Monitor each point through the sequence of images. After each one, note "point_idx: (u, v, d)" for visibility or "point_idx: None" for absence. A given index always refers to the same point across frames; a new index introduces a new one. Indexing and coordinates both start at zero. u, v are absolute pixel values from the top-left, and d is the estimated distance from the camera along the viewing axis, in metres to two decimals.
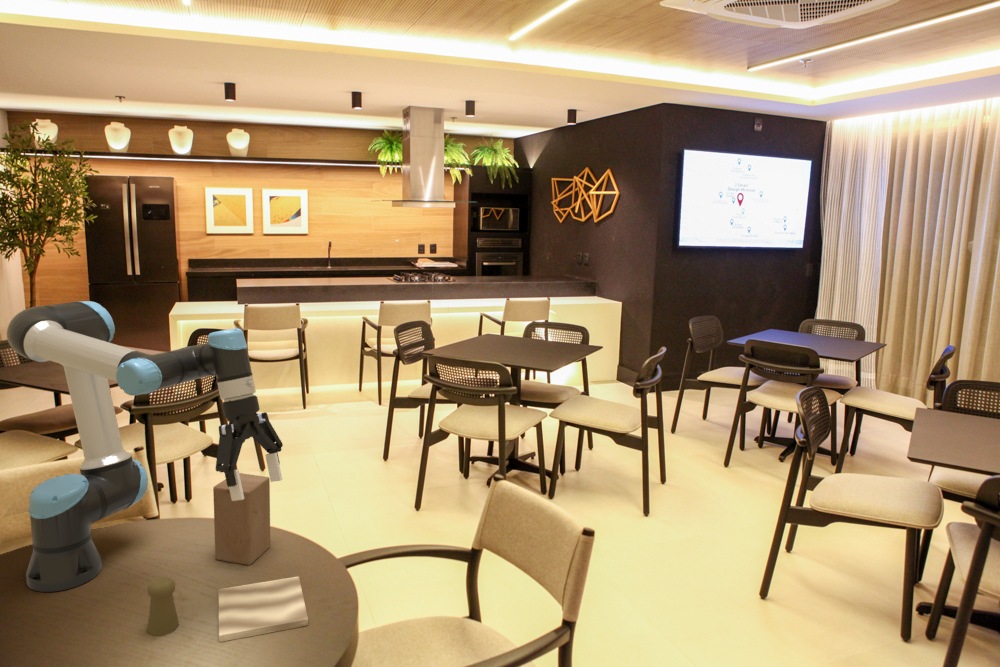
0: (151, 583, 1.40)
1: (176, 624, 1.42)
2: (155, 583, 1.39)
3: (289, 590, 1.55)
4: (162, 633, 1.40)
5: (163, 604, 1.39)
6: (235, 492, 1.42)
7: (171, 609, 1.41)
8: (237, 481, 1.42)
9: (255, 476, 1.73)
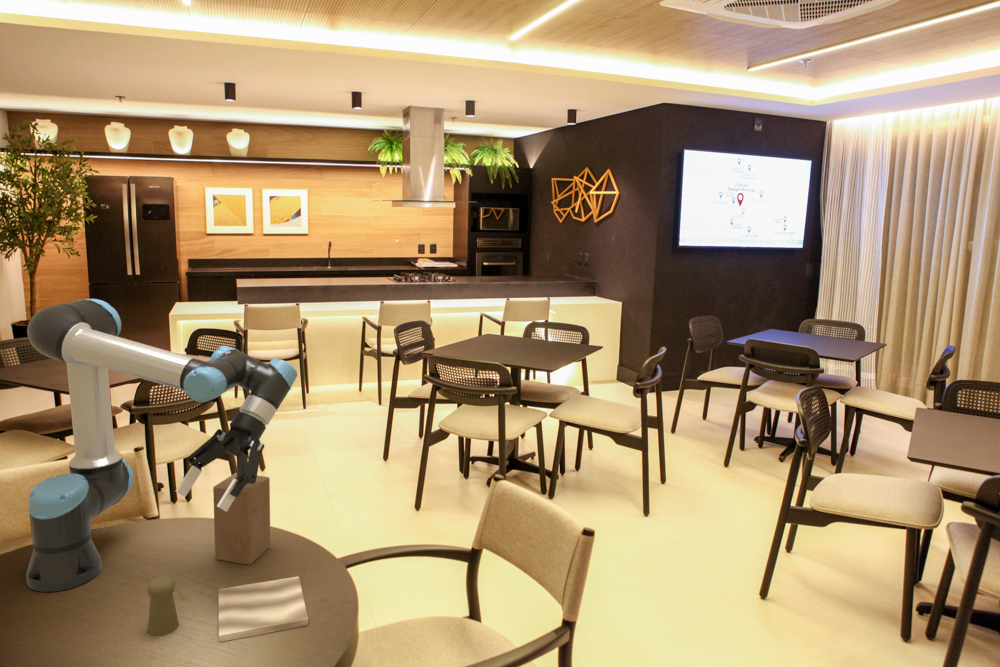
0: (151, 583, 1.40)
1: (176, 624, 1.42)
2: (155, 583, 1.39)
3: (289, 590, 1.55)
4: (162, 633, 1.40)
5: (163, 604, 1.39)
6: (227, 501, 1.44)
7: (171, 609, 1.41)
8: None
9: None
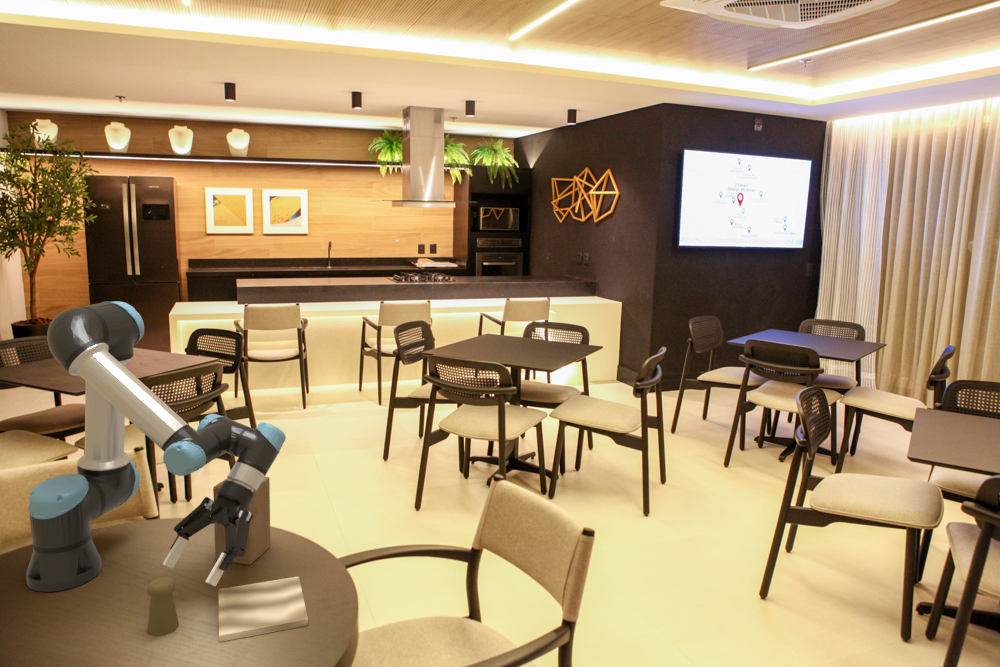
0: (151, 583, 1.40)
1: (176, 624, 1.42)
2: (155, 583, 1.39)
3: (289, 590, 1.55)
4: (162, 633, 1.40)
5: (163, 604, 1.39)
6: (216, 576, 1.43)
7: (171, 609, 1.41)
8: None
9: None
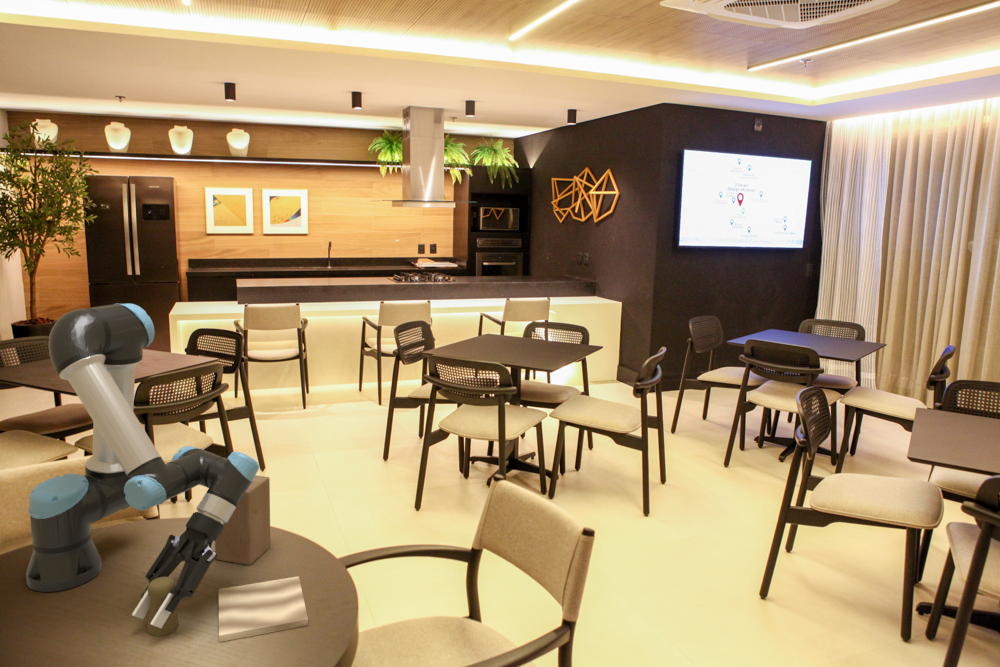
0: (151, 583, 1.40)
1: (176, 624, 1.42)
2: (155, 583, 1.39)
3: (289, 590, 1.55)
4: (162, 633, 1.40)
5: None
6: (162, 618, 1.38)
7: None
8: None
9: (255, 476, 1.73)
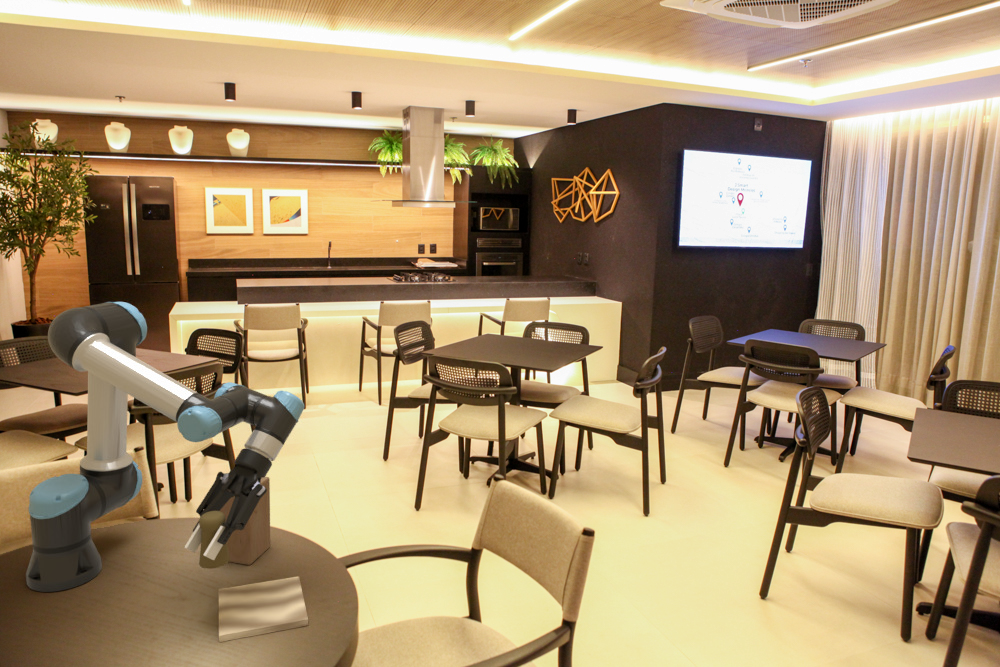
0: (202, 516, 1.40)
1: (227, 558, 1.42)
2: (206, 516, 1.40)
3: (289, 590, 1.55)
4: (214, 566, 1.40)
5: None
6: (214, 550, 1.38)
7: None
8: None
9: None
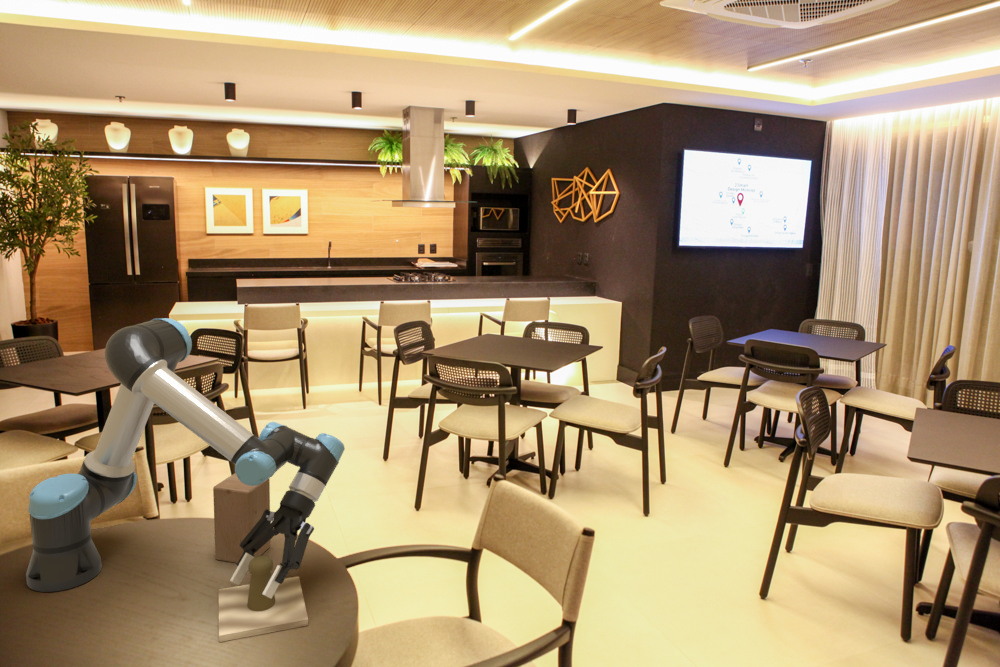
0: (252, 561, 1.47)
1: (273, 600, 1.50)
2: (255, 561, 1.47)
3: (289, 590, 1.55)
4: (262, 608, 1.47)
5: (263, 581, 1.47)
6: (272, 588, 1.45)
7: None
8: None
9: None
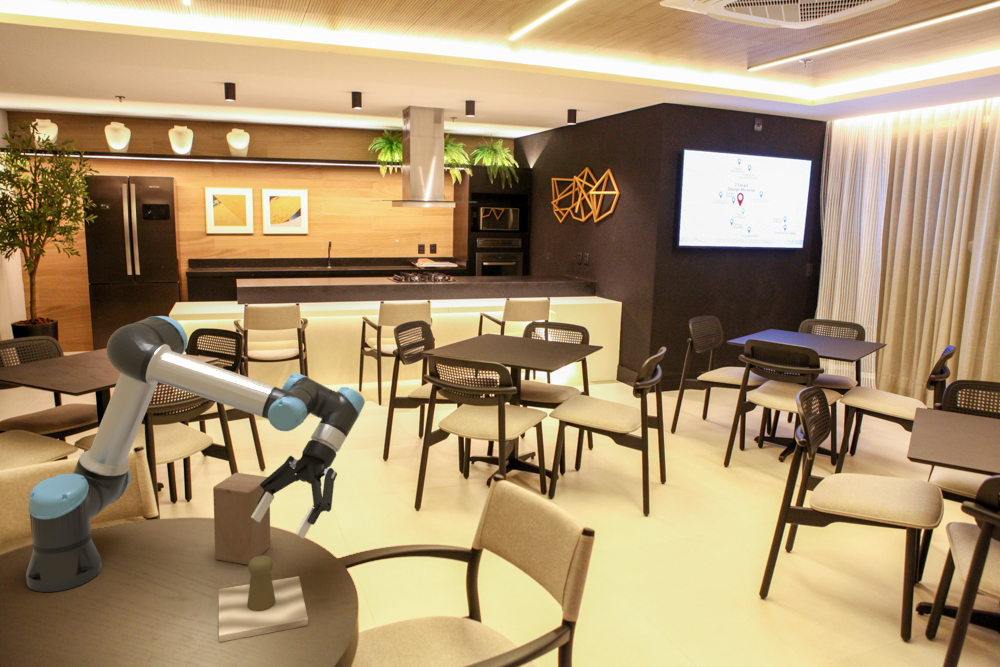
0: (252, 561, 1.47)
1: (273, 601, 1.50)
2: (255, 561, 1.47)
3: (289, 590, 1.55)
4: (262, 609, 1.47)
5: (263, 581, 1.47)
6: (304, 529, 1.49)
7: (269, 586, 1.48)
8: None
9: (255, 476, 1.73)
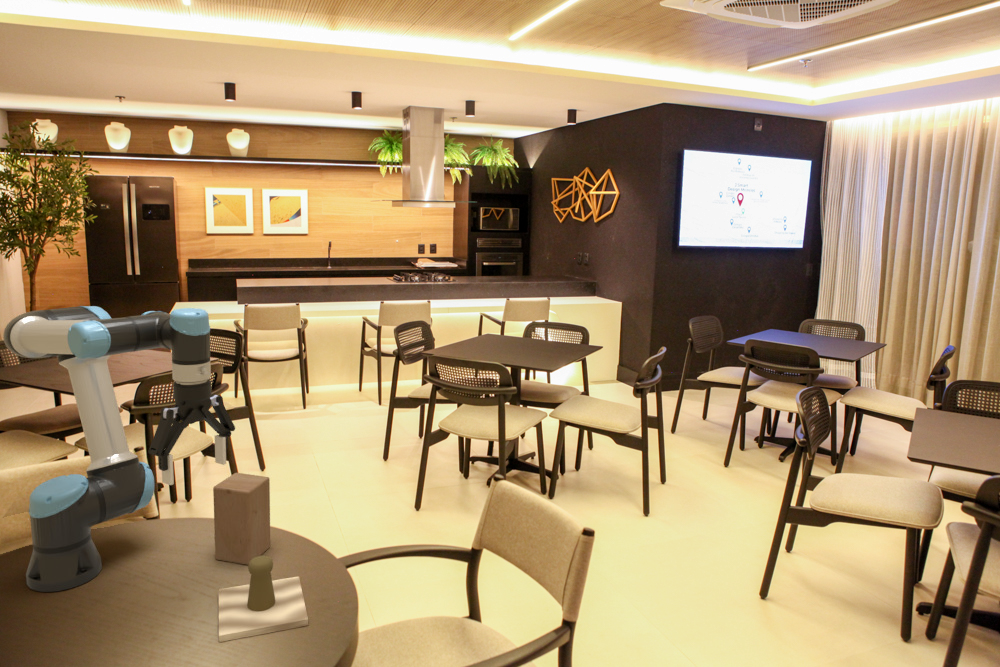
0: (252, 561, 1.47)
1: (273, 601, 1.50)
2: (255, 561, 1.47)
3: (289, 590, 1.55)
4: (262, 609, 1.47)
5: (263, 581, 1.47)
6: (166, 476, 1.41)
7: (269, 586, 1.48)
8: (169, 466, 1.40)
9: (255, 476, 1.73)
